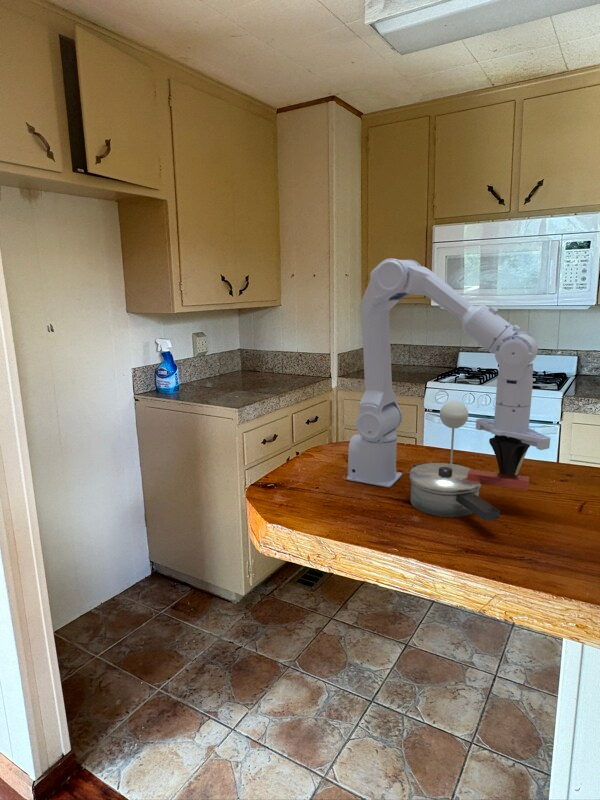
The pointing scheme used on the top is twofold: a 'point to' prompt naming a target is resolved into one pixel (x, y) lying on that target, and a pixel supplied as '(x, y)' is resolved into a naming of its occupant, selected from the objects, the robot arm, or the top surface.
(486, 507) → the pot
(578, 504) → the top surface
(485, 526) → the top surface
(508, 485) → the lid
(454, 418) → the lollipop
